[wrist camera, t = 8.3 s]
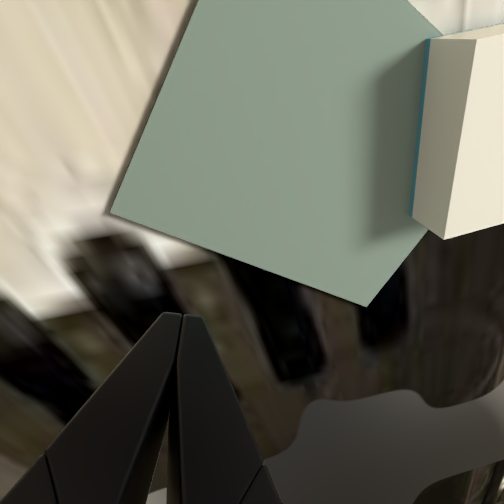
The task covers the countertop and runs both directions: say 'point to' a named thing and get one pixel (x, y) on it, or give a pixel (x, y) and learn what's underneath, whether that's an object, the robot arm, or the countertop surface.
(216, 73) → the mat
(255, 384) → the countertop surface
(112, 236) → the countertop surface
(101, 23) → the countertop surface
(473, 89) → the white box
